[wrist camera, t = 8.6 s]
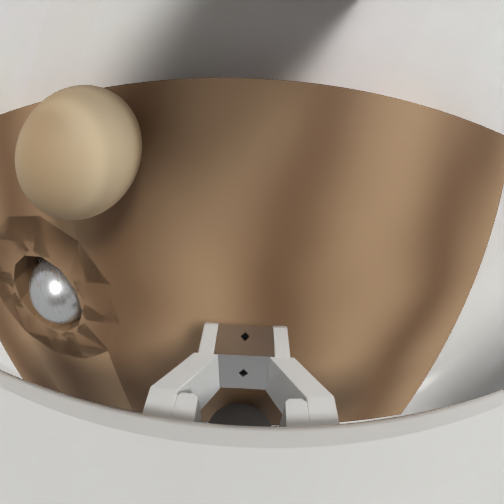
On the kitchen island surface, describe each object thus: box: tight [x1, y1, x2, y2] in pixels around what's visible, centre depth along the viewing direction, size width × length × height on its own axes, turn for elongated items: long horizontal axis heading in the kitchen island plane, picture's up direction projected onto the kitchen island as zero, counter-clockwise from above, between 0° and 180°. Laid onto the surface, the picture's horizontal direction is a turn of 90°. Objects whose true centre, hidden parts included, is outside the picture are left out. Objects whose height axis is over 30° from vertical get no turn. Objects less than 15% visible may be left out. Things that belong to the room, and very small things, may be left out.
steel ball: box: [29, 259, 82, 324], centre depth 13 cm, size 4×4×4 cm
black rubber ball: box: [209, 403, 271, 427], centre depth 14 cm, size 4×4×4 cm
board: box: [0, 78, 504, 425], centre depth 13 cm, size 28×18×2 cm, turn 87°
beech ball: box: [15, 85, 142, 220], centre depth 7 cm, size 4×4×4 cm
